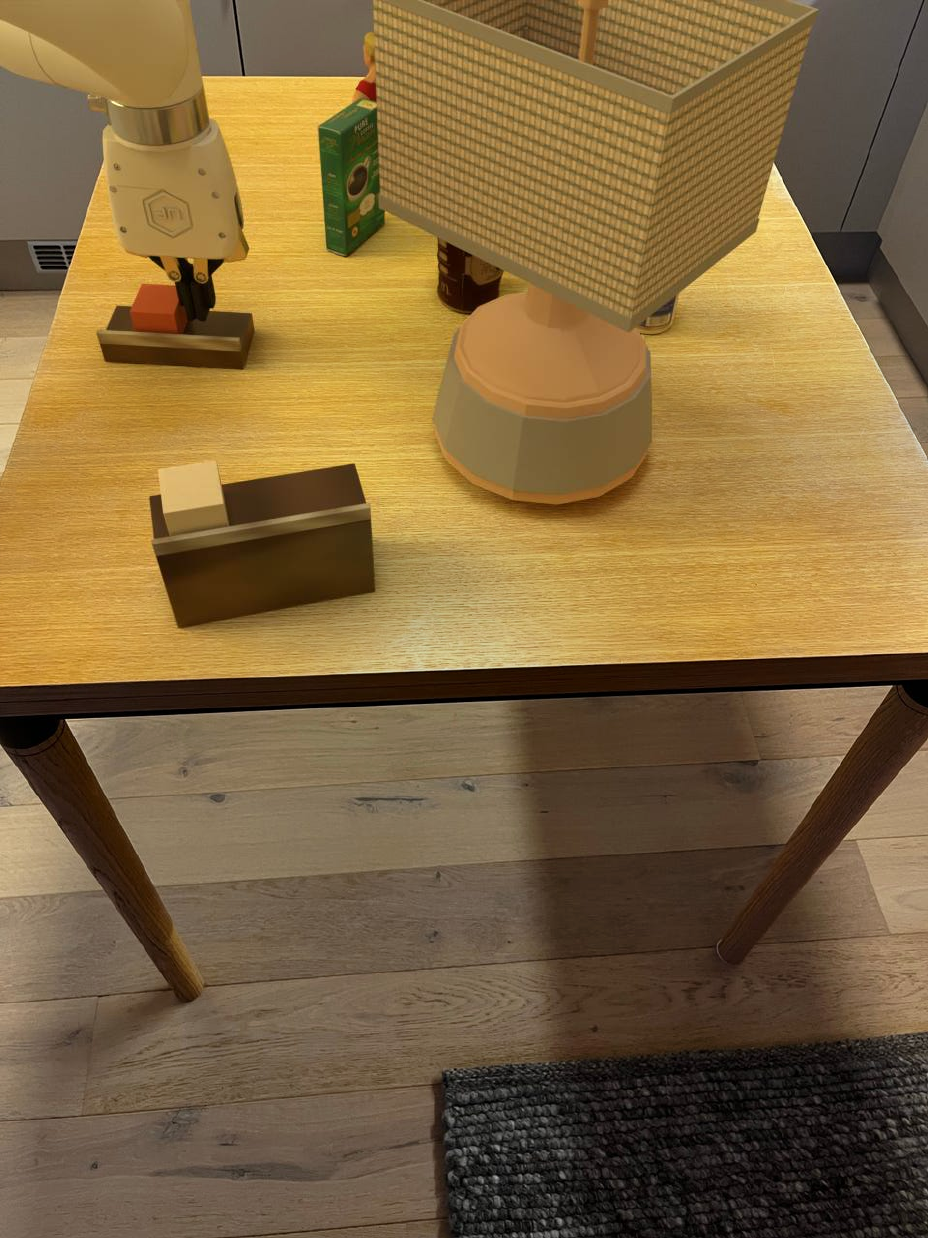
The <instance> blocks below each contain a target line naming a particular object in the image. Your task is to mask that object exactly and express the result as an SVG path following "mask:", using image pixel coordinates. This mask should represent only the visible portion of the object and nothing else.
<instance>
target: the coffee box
mask: <svg viewBox="0 0 928 1238" xmlns="http://www.w3.org/2000/svg"><path fill="white" fill-rule="evenodd" d="M317 138H318V151H319V164H320V178H321V192H322V206H323V222H324V233H325V247H326V250H327V251H328V252H331V253H333V254H336V255H338V256H342V257H345V256H348V255H349V254H350V253H351V252H353V251H355V250H356V249H357V248H358V246H360V245H361V244H362V243H363V242H365V241H366V240H367V239H368V238H370V237H371V235H372V234H375V233H376V232H377V231H378V230H380V228H381V227H382V226H383V225H385V223H386V221H385V220H386V218H385V216H386V211H384V210H382V209H380V208H379V198H378V194H380V181H379V154H378V126H377V102H375V101H372V100H368V99H364V98H359V99H358V100H356V101H355V102H353V103H352V102H351V103H350V104H349V105H347V106H346V107H344V108H343V109H341V110H339V112H337V113H335V114H334V115H332V116H331V117H330V118H328V119H326V120H325V121H323V122H322V123H320V124H319V125H318V126H317Z"/></svg>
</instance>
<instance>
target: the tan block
mask: <svg viewBox="0 0 928 1238" xmlns="http://www.w3.org/2000/svg"><path fill="white" fill-rule="evenodd" d="M157 473H158V474H157V475H158V480H159V490H160V494H161V499H162V507H163V514H164V517H165V521H166V524H167V528H168V531H169V535H170V536H175V535H181V534H187V533H193V532H199V531H205V530H211V529H217V528H223V527H229V522H228V516H227V510H226V505H225V499H224V493H223V488H222V484H223V483H222V480H221V475H220V471H219V466H218V460H216V459H214V460H207V461H201V462H195V463H194V462H193V463H188V464H187V463H186V464H181V465H175V466H169V467H163V468H158V469H157Z"/></svg>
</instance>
